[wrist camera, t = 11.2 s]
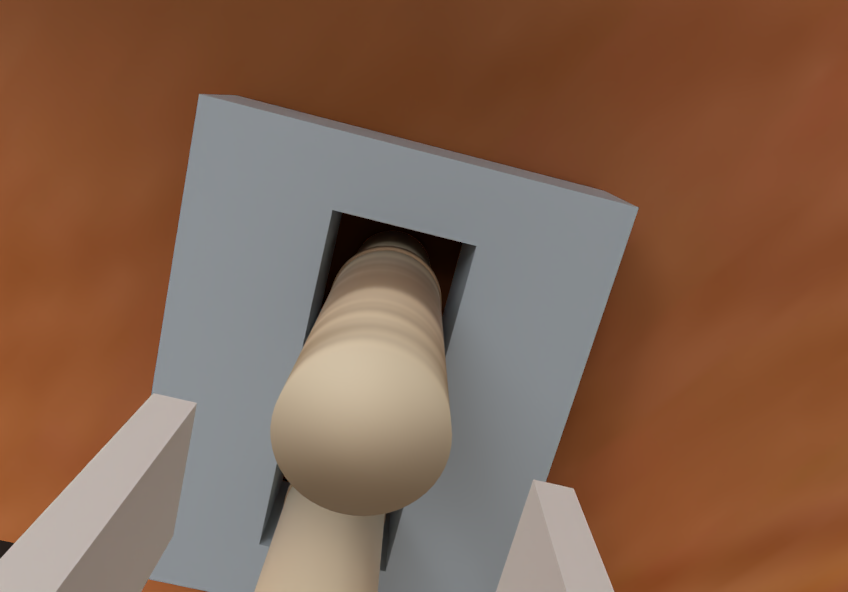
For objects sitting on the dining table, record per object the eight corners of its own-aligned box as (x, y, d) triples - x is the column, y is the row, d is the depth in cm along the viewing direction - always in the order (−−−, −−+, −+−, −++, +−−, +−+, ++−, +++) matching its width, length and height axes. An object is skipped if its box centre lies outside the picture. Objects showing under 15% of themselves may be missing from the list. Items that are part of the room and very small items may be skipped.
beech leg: (357, 212, 30) (288, 328, 14) (448, 235, 30) (475, 373, 15) (337, 300, 31) (252, 496, 16) (425, 321, 31) (428, 534, 16)
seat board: (236, 95, 28) (18, 86, 13) (603, 190, 30) (800, 285, 14) (165, 506, 34) (-50, 846, 18) (479, 574, 35) (525, 947, 19)
